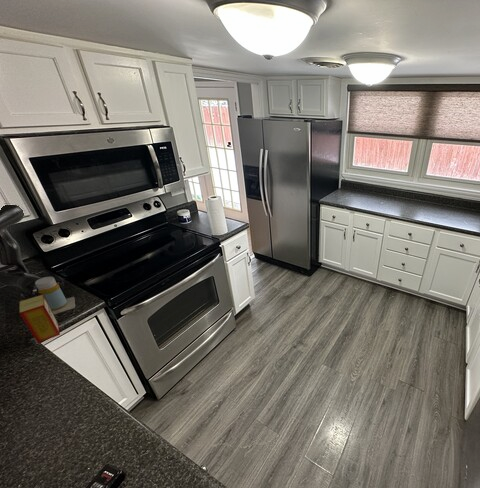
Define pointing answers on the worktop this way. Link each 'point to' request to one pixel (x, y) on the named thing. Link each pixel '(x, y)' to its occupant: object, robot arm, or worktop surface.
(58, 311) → the mat
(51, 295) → the bottle
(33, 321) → the baking soda box
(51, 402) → the worktop surface
